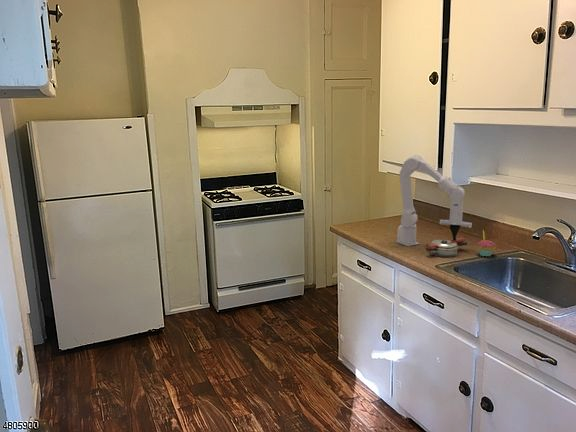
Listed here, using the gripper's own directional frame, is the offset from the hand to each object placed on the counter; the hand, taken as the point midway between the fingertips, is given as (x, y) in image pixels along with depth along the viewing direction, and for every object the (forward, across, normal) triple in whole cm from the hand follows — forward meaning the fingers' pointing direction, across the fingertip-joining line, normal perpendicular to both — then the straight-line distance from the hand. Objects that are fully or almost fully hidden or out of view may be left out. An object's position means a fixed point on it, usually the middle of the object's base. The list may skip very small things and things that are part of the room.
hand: (454, 240), depth 234 cm
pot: (+4, -2, -8) cm, 9 cm away
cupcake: (+4, +15, -3) cm, 16 cm away
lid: (0, -2, -8) cm, 8 cm away
